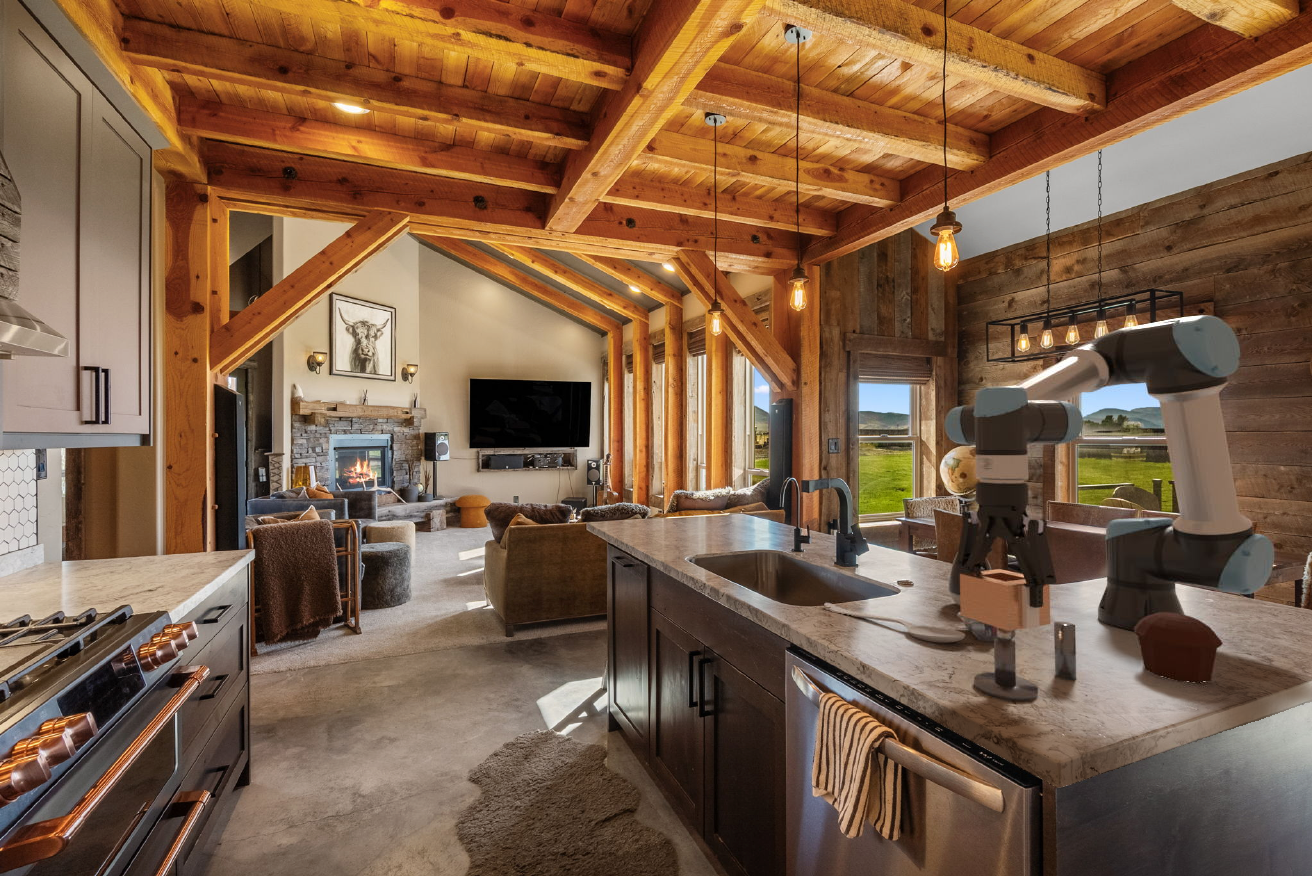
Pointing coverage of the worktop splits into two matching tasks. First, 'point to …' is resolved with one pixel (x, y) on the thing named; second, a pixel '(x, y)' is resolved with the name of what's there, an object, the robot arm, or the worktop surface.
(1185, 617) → the muffin
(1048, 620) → the collar
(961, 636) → the spoon
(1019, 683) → the cylinder
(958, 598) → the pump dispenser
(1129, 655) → the worktop surface
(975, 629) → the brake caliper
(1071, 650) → the stand rod
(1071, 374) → the robot arm
